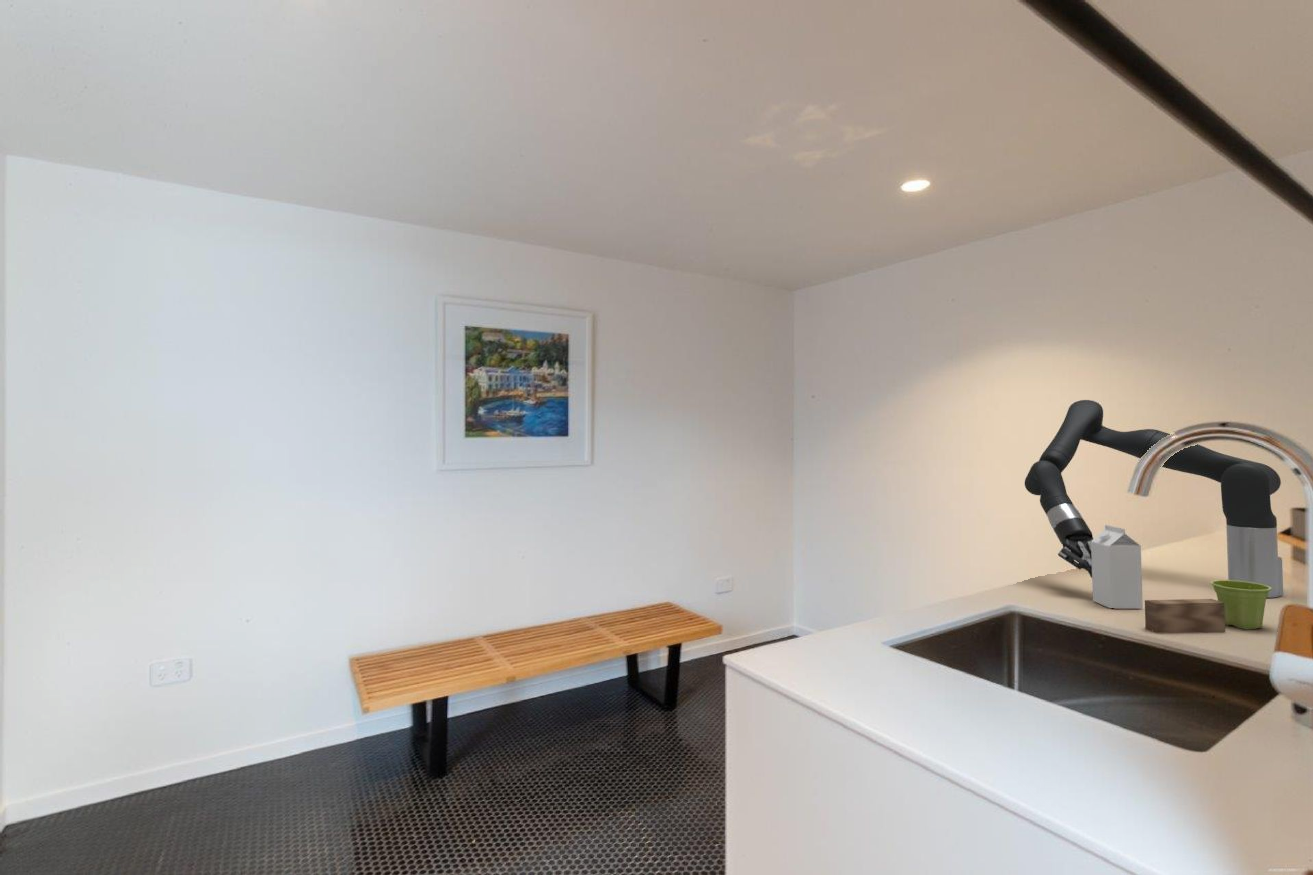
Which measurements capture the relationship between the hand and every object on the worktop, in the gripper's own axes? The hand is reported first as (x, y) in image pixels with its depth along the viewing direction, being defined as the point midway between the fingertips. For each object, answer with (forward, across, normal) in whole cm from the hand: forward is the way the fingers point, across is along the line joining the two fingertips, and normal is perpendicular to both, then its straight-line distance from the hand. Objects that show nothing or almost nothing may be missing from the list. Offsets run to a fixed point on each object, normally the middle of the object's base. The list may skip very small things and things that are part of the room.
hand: (1101, 581), depth 152 cm
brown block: (+20, -1, +14) cm, 24 cm away
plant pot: (+18, -15, +12) cm, 26 cm away
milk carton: (+6, -1, 0) cm, 7 cm away
